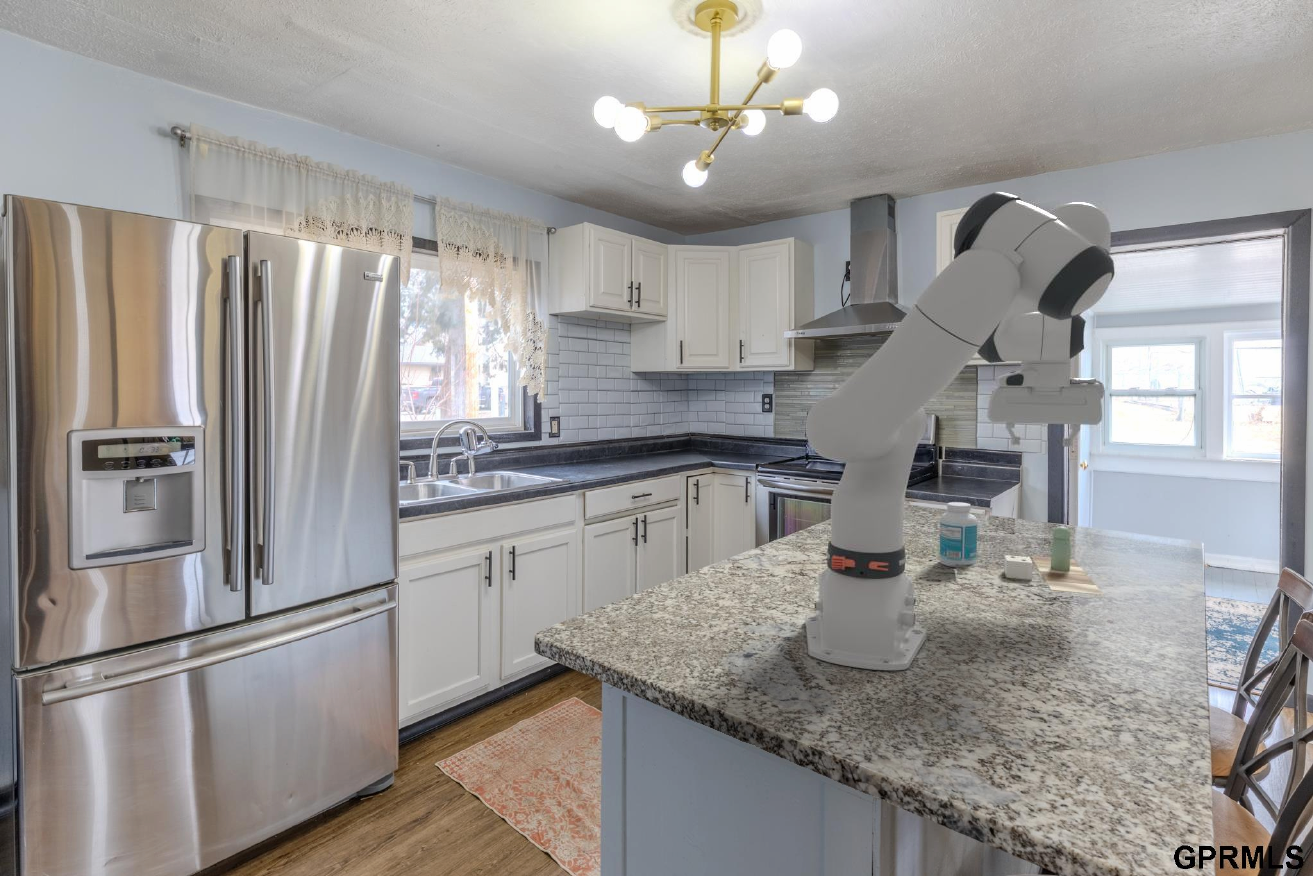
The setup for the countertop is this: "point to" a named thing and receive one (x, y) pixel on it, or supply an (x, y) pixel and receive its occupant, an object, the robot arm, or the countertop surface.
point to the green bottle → (1061, 549)
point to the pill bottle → (958, 535)
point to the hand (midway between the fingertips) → (1041, 445)
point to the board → (1066, 577)
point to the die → (1018, 567)
